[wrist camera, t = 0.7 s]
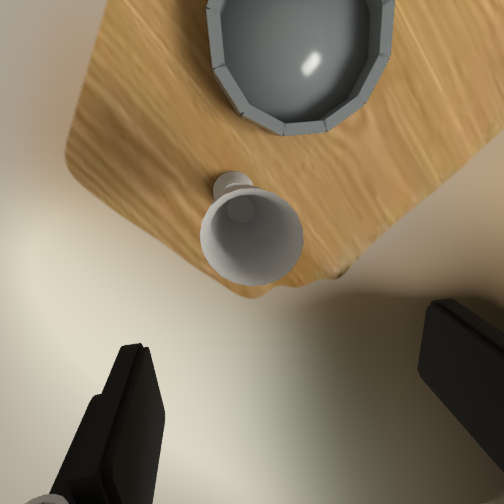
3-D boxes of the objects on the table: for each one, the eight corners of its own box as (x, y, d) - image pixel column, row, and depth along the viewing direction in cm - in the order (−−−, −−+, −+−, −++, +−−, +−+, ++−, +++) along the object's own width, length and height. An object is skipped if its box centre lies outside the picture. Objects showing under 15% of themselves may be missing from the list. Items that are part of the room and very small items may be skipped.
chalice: (192, 194, 37) (177, 244, 20) (228, 149, 36) (245, 164, 19) (238, 231, 39) (259, 303, 23) (274, 190, 38) (324, 235, 21)
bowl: (381, -71, 30) (402, -95, 27) (369, 127, 37) (385, 127, 34) (196, -65, 28) (195, -91, 25) (219, 140, 35) (220, 141, 32)
